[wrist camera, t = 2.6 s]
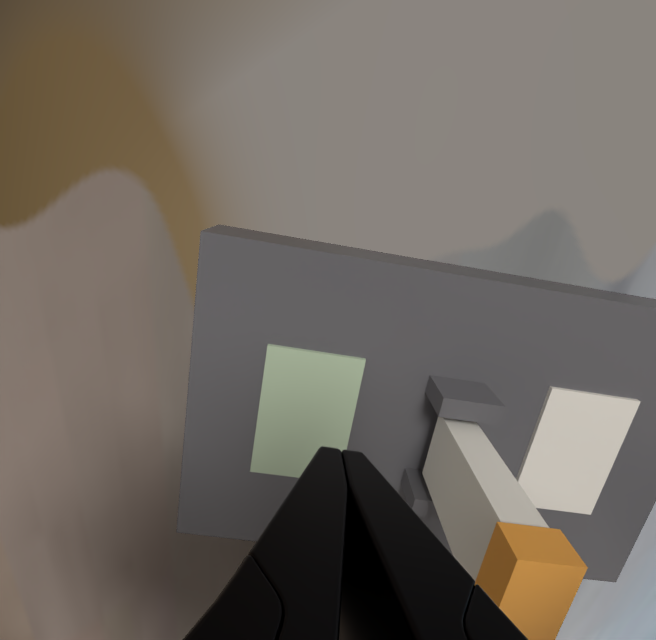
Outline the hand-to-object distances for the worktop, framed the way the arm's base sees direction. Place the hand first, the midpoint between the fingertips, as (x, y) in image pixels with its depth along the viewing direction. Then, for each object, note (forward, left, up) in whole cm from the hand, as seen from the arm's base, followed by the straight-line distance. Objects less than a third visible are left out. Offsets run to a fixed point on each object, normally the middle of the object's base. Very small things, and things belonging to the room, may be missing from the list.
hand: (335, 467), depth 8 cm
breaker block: (-4, -6, -12) cm, 14 cm away
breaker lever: (-4, -6, -8) cm, 11 cm away
